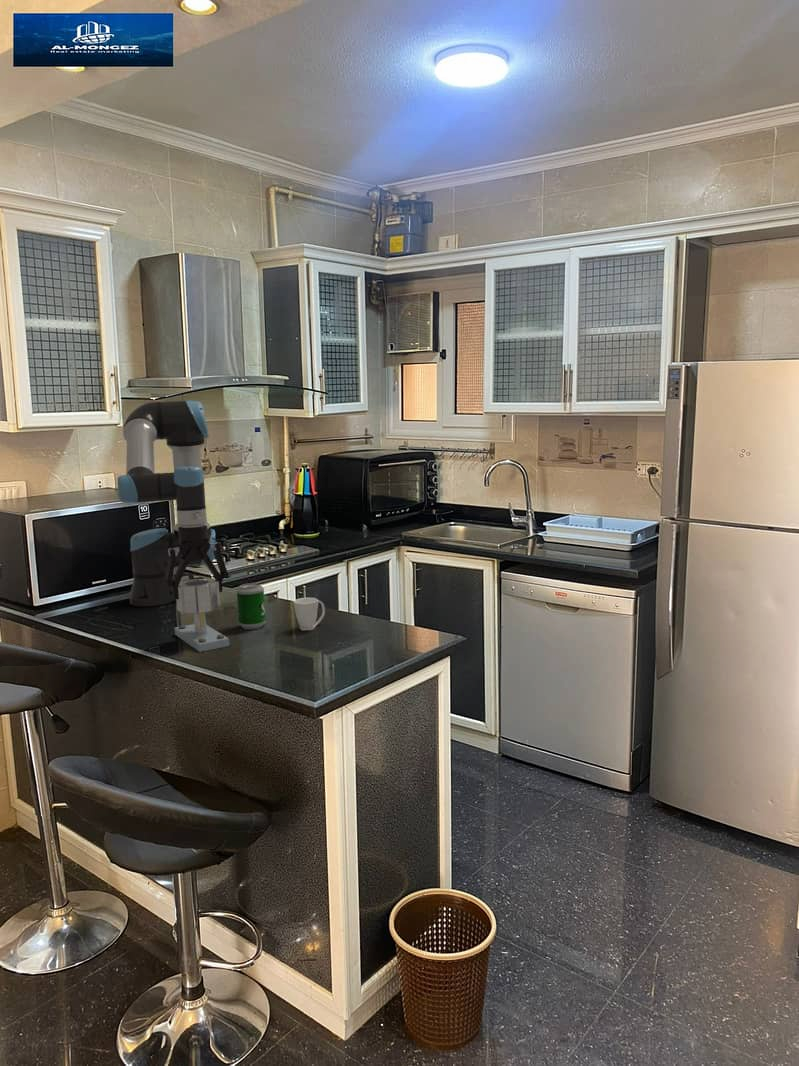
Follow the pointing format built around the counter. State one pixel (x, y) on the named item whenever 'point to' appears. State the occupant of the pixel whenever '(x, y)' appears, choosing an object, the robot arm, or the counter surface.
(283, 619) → the counter surface
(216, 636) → the block
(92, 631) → the counter surface
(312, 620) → the cup
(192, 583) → the grey hollow octagonal piece
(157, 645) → the counter surface
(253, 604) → the soda can
